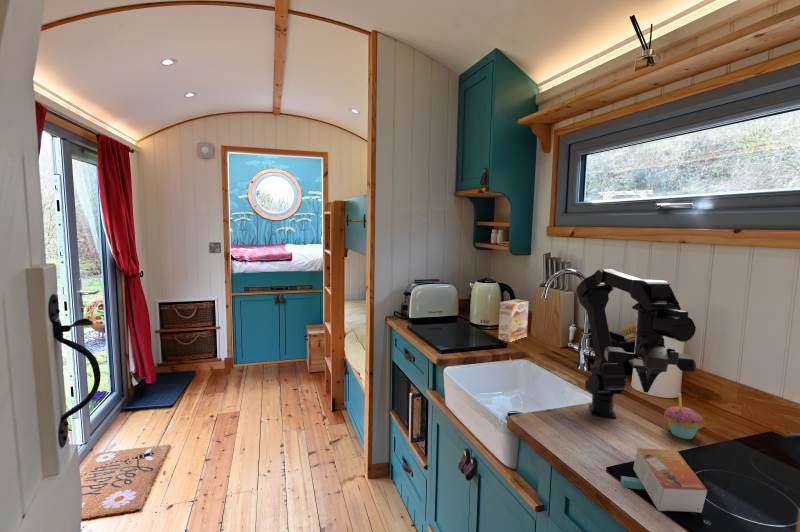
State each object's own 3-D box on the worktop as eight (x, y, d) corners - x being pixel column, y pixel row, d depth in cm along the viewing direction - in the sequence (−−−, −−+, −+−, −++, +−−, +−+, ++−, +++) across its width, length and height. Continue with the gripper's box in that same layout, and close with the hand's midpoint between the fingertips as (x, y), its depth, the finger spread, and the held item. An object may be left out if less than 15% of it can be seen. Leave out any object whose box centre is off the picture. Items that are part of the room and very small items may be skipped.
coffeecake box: (510, 345, 187) (512, 304, 186) (497, 342, 193) (499, 301, 191) (527, 340, 197) (529, 300, 196) (514, 337, 203) (516, 298, 201)
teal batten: (620, 482, 85) (621, 476, 85) (684, 490, 83) (684, 484, 83) (623, 487, 84) (623, 480, 84) (687, 495, 81) (688, 488, 81)
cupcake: (684, 444, 101) (688, 398, 100) (654, 428, 109) (658, 385, 108) (710, 440, 104) (714, 395, 103) (679, 424, 112) (682, 382, 111)
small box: (675, 448, 84) (709, 490, 74) (671, 470, 86) (703, 513, 76) (635, 447, 85) (663, 488, 75) (632, 468, 86) (658, 511, 76)
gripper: (613, 334, 95) (609, 398, 97) (707, 343, 89) (702, 411, 91) (606, 324, 106) (602, 382, 107) (689, 331, 100) (684, 392, 101)
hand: (645, 391), depth 101 cm, fingers closed
